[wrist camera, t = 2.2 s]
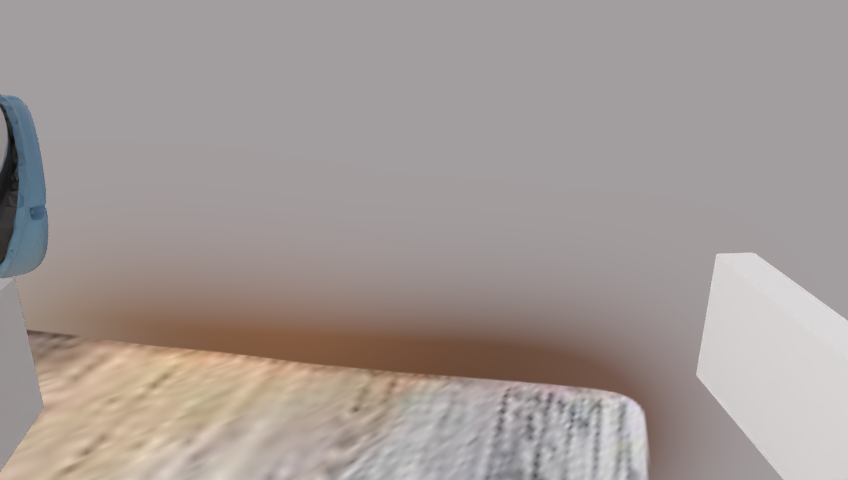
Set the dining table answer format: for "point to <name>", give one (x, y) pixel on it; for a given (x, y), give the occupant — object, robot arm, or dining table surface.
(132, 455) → the dining table surface
